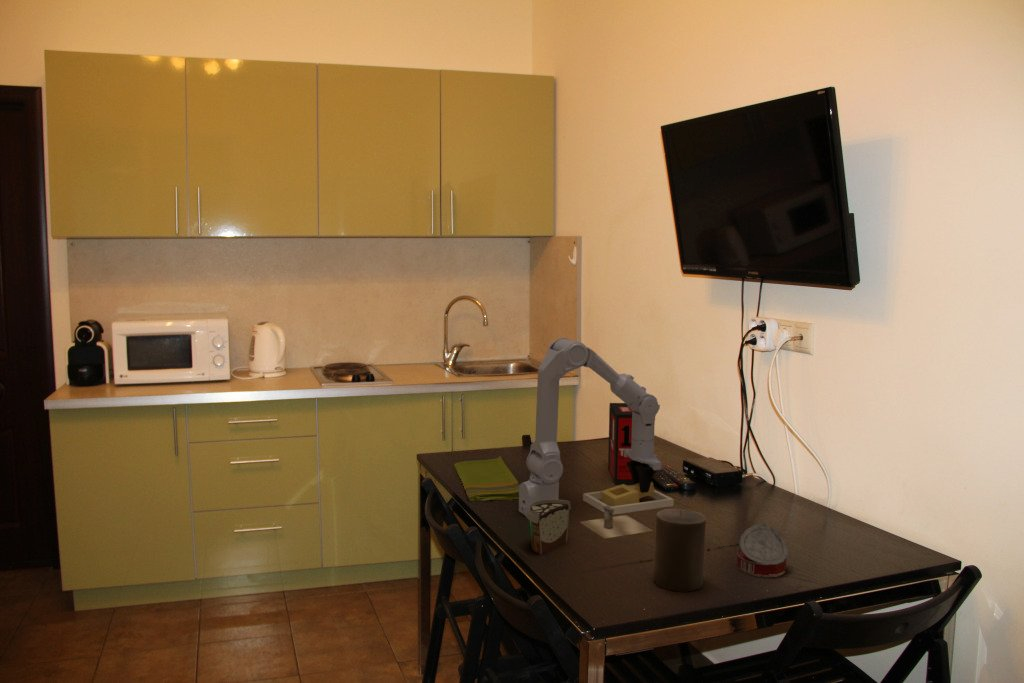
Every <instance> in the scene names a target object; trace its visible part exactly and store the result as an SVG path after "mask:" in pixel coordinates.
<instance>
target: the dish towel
mask: <svg viewBox="0 0 1024 683" xmlns="http://www.w3.org/2000/svg"><path fill="white" fill-rule="evenodd" d="M453 467H454V469H455V471H456V473H457V475H458V477H459V480H460V479H461V480H460V482H461V481H462V482H461V484H462V483H463V485H462V487H463V486H464V487H463V489H464V491H466V492H465V493H466V496H467V498H468V501H469V502H470V501H473V500H482V501H486V500H508V501H513V500H512V499H519V487H520V484H521V483H519V481H518V480H517V479H516V477H515V476H514V474H513V473H512V472H511V470H510V469H509V468H508V466H507V465H506V463H505V462H504V460H503V457H502V456H501V455H500V456H498V457H497V458H490V459H485V460H483V459H481V460H480V459H479V460H476V459H475V460H466V461H465V460H464V461H459V462H455V463H454V465H453ZM486 502H487V501H486Z"/></svg>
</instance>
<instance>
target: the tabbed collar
mask: <svg viewBox="0 0 1024 683" xmlns="http://www.w3.org/2000/svg"><path fill="white" fill-rule="evenodd" d="M654 490H655V488H654V482H653V481H651V484H650V488H649V491H648V492H643V493H642V492H640V486H639V483H637V484H634V485H625V484H622V485H615V486H613V487H610V488H606V489H604V490H603V489H602V490H600V492H601V499H600V500H601V502H603V503H605V504H606V505H608V506H610V507H612V506H619V505H626V504H633V503H640V499H642V498H644V497H648V496H649V495H651V494H654Z"/></svg>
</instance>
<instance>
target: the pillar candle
mask: <svg viewBox="0 0 1024 683" xmlns="http://www.w3.org/2000/svg"><path fill="white" fill-rule="evenodd" d="M706 521H707V518H706V516H705V515H704V514H703V513H700V512H698V511H695V510H690V509H684V508H683V509H682V508H681V509H680V508H665V509H663V510H660V511H658V512H657V513H656V523H655V524H656V525H655V543H654V544H655V547H654V565H653V580H654V583H655V584H656V585H657V586H659V587H661V588H662V589H664V590H665V589H666V590H669V591H675V592H682V593H687V592H693V591H697V590H699V589H701V588H702V587H703V585H704V568H705V567H704V564H705V548H706V547H705V546H706V545H705V544H706V540H705V539H706Z"/></svg>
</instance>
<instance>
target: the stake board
mask: <svg viewBox="0 0 1024 683" xmlns="http://www.w3.org/2000/svg"><path fill="white" fill-rule="evenodd" d="M603 513H604V514H603V517H604V518H597V519H589V520H582V521H579V523H580V524H581V525H583V526H585V527H586V528H587V529H589V530H591V531H592V532H593V533H595V534H596V535H599V536H600V537H601V538H603V539H605V540H606V539H611V538H617V537H623V536H630V535H636V534H642V533H649V532H654V530H652V529H651V528H649V527H647V526H646V525H645V524H642V523H640V522H639V521H638V520H635V519H634V518H632V517H630V516H629V515H626V514H624V515H623V514H621V515H618V516H614V515H613V513H614V509H612V508H610V507H609V505H608V506H604V512H603Z"/></svg>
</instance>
